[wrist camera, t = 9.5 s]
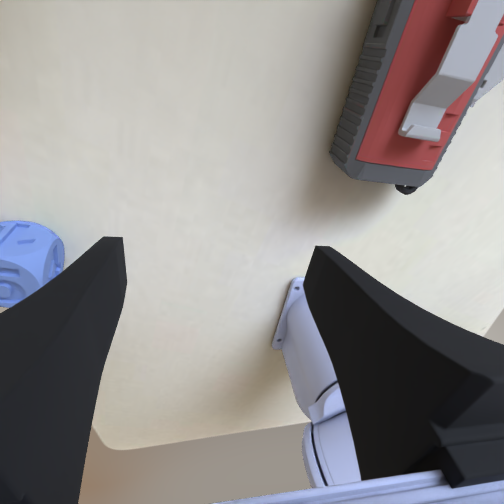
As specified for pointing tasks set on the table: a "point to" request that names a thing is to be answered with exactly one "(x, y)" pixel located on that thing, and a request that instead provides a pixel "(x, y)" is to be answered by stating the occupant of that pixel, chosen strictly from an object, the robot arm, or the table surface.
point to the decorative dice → (27, 259)
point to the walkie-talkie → (417, 86)
